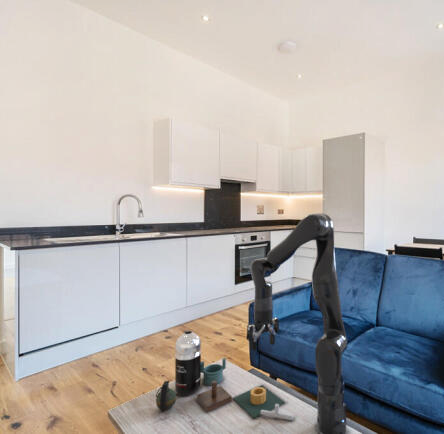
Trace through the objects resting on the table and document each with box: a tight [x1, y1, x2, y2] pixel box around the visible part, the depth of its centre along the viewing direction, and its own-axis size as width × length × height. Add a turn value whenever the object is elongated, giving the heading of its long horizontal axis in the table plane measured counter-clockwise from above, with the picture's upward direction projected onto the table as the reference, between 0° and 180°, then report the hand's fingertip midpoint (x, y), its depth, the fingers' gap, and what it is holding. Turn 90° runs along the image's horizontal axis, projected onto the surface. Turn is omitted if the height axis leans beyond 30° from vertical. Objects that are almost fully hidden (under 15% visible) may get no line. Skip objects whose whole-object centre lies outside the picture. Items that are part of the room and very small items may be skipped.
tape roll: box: [250, 386, 266, 405], centre depth 121 cm, size 6×6×4 cm
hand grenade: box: [155, 380, 177, 413], centre depth 116 cm, size 8×7×10 cm
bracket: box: [201, 357, 227, 386], centre depth 136 cm, size 9×9×9 cm
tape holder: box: [196, 381, 233, 413], centre depth 121 cm, size 10×10×8 cm
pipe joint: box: [260, 404, 294, 421], centre depth 112 cm, size 12×2×4 cm, turn 78°
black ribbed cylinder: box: [174, 330, 202, 397], centre depth 128 cm, size 10×10×25 cm
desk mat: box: [232, 384, 286, 420], centre depth 121 cm, size 16×14×1 cm
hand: (263, 347), depth 124 cm, fingers open, 8 cm apart
